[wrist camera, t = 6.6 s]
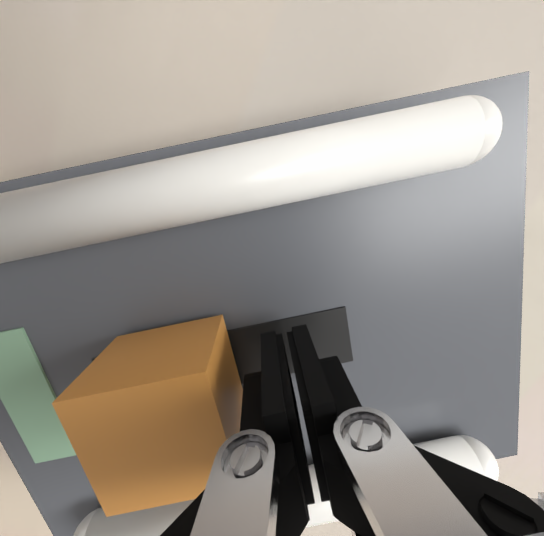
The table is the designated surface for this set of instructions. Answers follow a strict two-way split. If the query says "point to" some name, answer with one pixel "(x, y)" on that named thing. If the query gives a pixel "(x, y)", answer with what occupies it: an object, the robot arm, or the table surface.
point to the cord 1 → (247, 176)
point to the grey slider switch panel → (293, 296)
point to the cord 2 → (154, 521)
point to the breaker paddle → (154, 414)
